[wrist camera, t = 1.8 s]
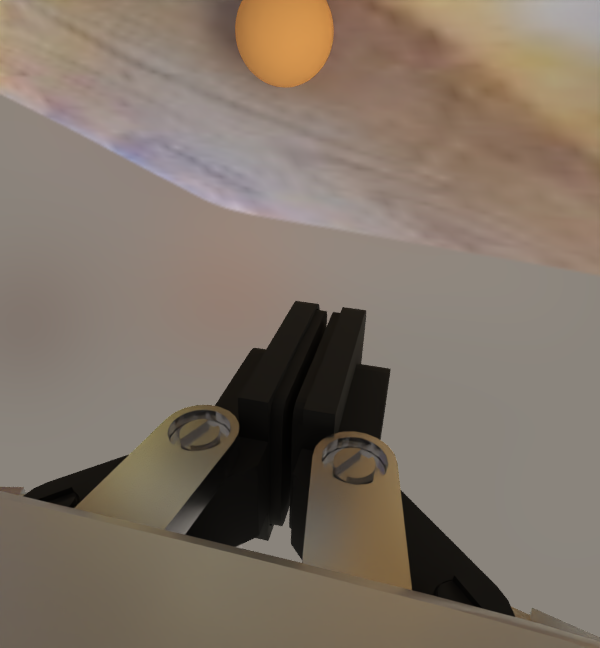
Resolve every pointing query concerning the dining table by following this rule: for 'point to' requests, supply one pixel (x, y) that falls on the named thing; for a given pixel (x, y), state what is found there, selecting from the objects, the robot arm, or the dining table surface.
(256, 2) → the ball
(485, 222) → the dining table surface
